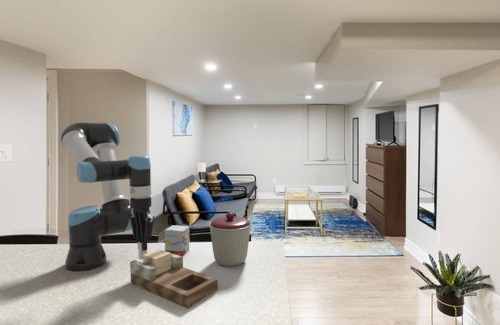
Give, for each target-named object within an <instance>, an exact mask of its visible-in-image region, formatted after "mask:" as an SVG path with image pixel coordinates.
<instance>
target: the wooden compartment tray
mask: <svg viewBox="0 0 500 325" xmlns="http://www.w3.org/2000/svg"><path fill="white" fill-rule="evenodd" d="M129 264H130V284H131V285H133V286H136V287H138V288H140V289H142V290H145V291H147V292H150V293H151V294H154V295H156V296H159V297H161V298H163V299H165V300H167V301H169V302H172V303H174V304H175V305H178V306H181V307H183V308H185V309H187V310H188V309H189V308H190V307H192V306H194V305H196V304H198V303H199V302H201V301H202V300H204V299H206V298H207V297H209V296H211V295H212V294H214V293H216V292H218V291H219V290H218V289H219V286H218V285H219V284H218V281H219V280H218V278H217V277H216V278H215V277H213V276H210V275H206V274H205V273H201V272H197V271H196V270H192V269H189V268H186V267H184V256H183V257H182V256H179V255H175V254H172V253H171V269H170V270H168V271H165V272H163V273H161V274H158V275H157V273H156V268H155V267H153V266H150V265H147V264H145V263H143V261H142V262H141V261H139V260H136V259H134V260H132V261H130V262H129Z"/></svg>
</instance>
